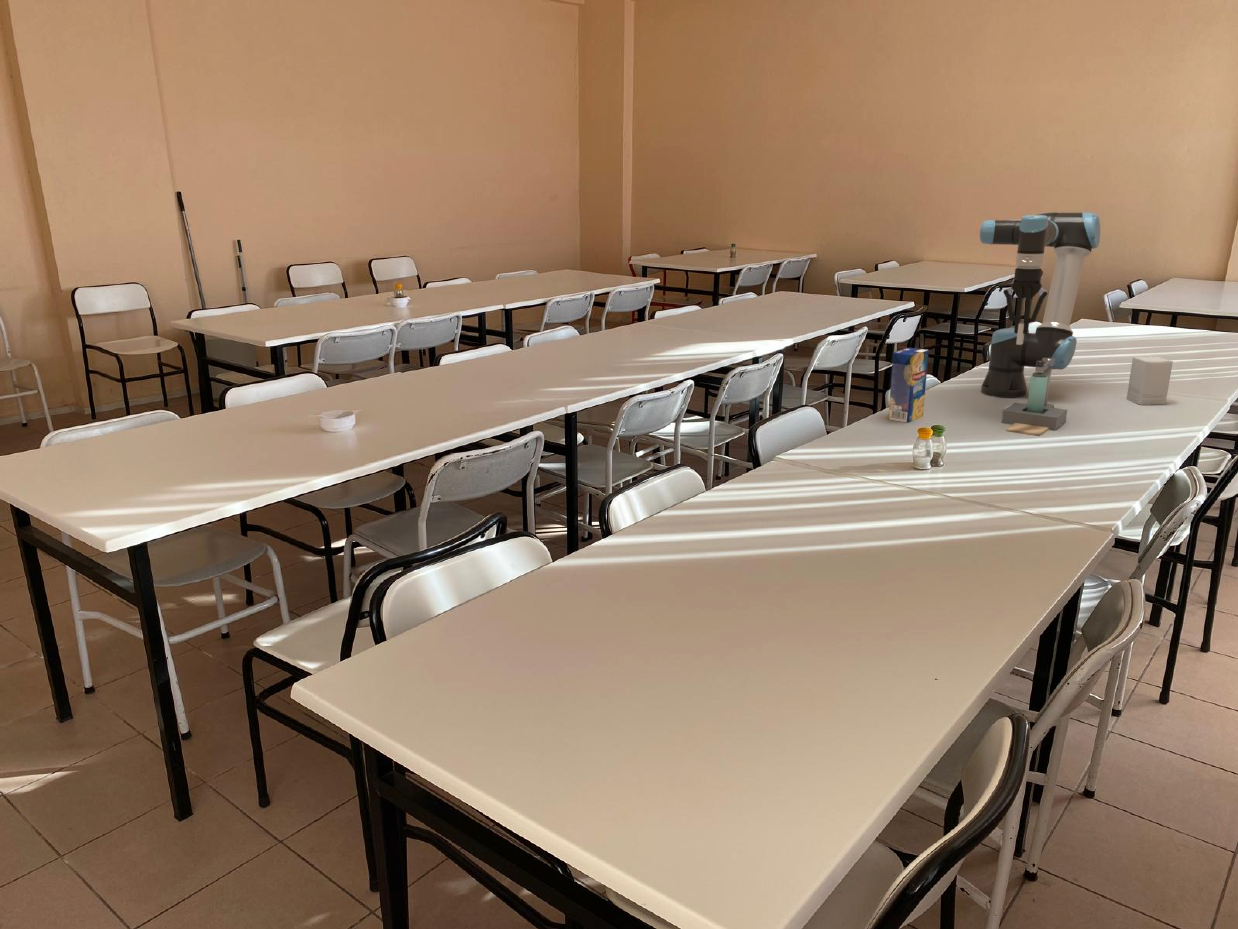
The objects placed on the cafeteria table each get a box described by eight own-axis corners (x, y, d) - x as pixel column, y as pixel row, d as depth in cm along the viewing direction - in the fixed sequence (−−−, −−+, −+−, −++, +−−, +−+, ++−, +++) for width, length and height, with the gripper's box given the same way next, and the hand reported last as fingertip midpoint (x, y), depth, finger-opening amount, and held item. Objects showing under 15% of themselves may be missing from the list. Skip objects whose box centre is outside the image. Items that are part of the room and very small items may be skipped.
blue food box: (923, 415, 293) (928, 349, 286) (907, 422, 285) (913, 355, 279) (903, 412, 298) (908, 347, 291) (888, 419, 290) (893, 352, 283)
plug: (1023, 422, 282) (1029, 373, 277) (1027, 419, 286) (1033, 371, 281) (1039, 425, 279) (1045, 375, 274) (1043, 421, 283) (1050, 373, 278)
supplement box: (1166, 404, 299) (1174, 361, 295) (1139, 405, 299) (1146, 361, 295) (1151, 398, 308) (1158, 355, 303) (1125, 399, 308) (1132, 356, 304)
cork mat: (1005, 430, 274) (1005, 429, 274) (1015, 423, 281) (1015, 421, 281) (1040, 436, 268) (1040, 434, 268) (1049, 428, 275) (1049, 426, 275)
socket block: (1001, 422, 283) (1007, 372, 278) (1017, 411, 295) (1023, 363, 290) (1055, 430, 273) (1062, 378, 268) (1069, 418, 285) (1076, 369, 280)
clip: (1043, 364, 286) (1044, 354, 285) (1055, 365, 284) (1056, 355, 283) (1032, 371, 277) (1033, 361, 276) (1044, 372, 275) (1045, 362, 274)
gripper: (1003, 267, 273) (995, 343, 280) (1049, 269, 266) (1039, 347, 273) (1008, 265, 279) (1000, 340, 286) (1054, 267, 272) (1044, 343, 279)
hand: (1019, 343), depth 279 cm, fingers closed
